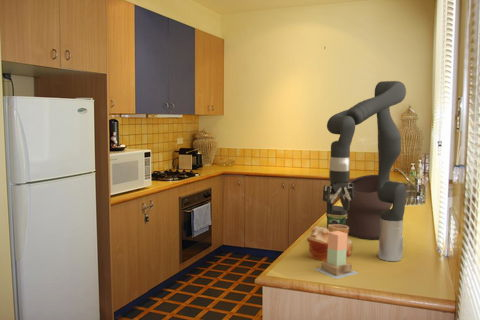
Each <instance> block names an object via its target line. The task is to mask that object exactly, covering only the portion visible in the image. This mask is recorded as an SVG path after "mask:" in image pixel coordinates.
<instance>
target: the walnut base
mask: <svg viewBox="0 0 480 320" xmlns="http://www.w3.org/2000/svg"><path fill="white" fill-rule="evenodd" d="M320 268H321V270H323V271H325V272H328V273H330V274H332V275H335V276H339V275H343V274H347V273H351V271H352V269H353V268H352V263H351V264H350V263H348V262H346V264H345V265H341V266H337V267H336V266H334V265H331V264H329V263H327V261H322V262H321V267H320Z"/></svg>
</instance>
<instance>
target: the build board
mask: <svg viewBox="0 0 480 320" xmlns="http://www.w3.org/2000/svg"><path fill="white" fill-rule="evenodd" d="M321 268H322V267H318V268H314V269H313V270H314V271H317V272H319V273H322V274H324V275H325V276H328V277H331V278H333V279H335V280H337V279H341V278H345V277H349V276H354V275H358V274H359V272H357V271H355V270H352V271H351V273H347V274H343V275H339V276H335V275H332V274H330V273H328V272H325V271H323V270H321Z"/></svg>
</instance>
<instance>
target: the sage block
mask: <svg viewBox="0 0 480 320" xmlns="http://www.w3.org/2000/svg"><path fill="white" fill-rule="evenodd" d="M346 251H347V249H344V250H340V251H336V250H333V249H330V248H328V253H327V263H329V264H331V265H334V266H336V267H337V266H341V265H345V264H346V263H347V257H346Z"/></svg>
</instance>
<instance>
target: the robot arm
mask: <svg viewBox="0 0 480 320" xmlns="http://www.w3.org/2000/svg"><path fill="white" fill-rule="evenodd" d="M406 95H407V89H406V85H405V84H404V83H403V82H401V81H399V80H385V81H378V83H377V84H376V85H375V87H374V96H373V97H371V98H367V99H364V100H361V101H359V102H357V103H355V105H353V106H351V107H350V108H348V109H346V110H343V111H340V112H338V113H335V114H333V115H332V116H331V117H330V118H329V119H328V120H327V122H326V123H327V124H326V129H327V130H328V132H329V133H331V134H333V135H339V137H338V140H335V141H332V142H331V143H330V158H329V170H328V172H329V174H328V180H329V182H330V184H329V185H325V184H324V185H323V189H322V192H323V193H322V201H323V202H326V210H327V212H328V213H333V205H334V201H335V200H336V199H337V198H338V197H340V195H341V196H343V198H344V199H345V200H344V207H343V209H344V210H349V207H350V200H351V199H353V198H354V183H348V182H349V181H350V180H351V179H350V176H351V174H350V173H351V160H350V159H351V157H350V155H351V153H350V152H351V145H352V141H353V137H354V135H355V132H356V126H358V125H360V124H362V123H363V122H365V121H366V120H368V119H370V118H371V117H373V116H374V115H376V122H377V155H378V156H377V157H378V158H377V159H378V169H377V170H378V173H377V175H378V185H377V194H378V198H379V200H380V201H382V202H387V203H392V206H391V208H390V209H389V210H384V211H382V212H381V214H380V234H379V239H378V255H377V256H378V259H380V260H382V261H387V262H400V261H401V259H403V250H404V236H403V226H404V225H403V224H404V214H405V210H406V207H405V206H406V198H407V187H406V184H405V183H403V182H398V181H391V180H390V174H391V169H392V167H393V166H394V164H395V162H396V161H397V160H398V158H399V156H400V154H401V151H402V136H401V132H400V129H398V127H397V125H396V123H395V121H394V120H393V118H392V115H391V112H390V111H391V110H390V109H391V108H390V107H393V106H395V105H398V104H400V103H402V102H403V101H404V99H405V97H406ZM389 180H390V181H389ZM350 192H351V195H350Z"/></svg>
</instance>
